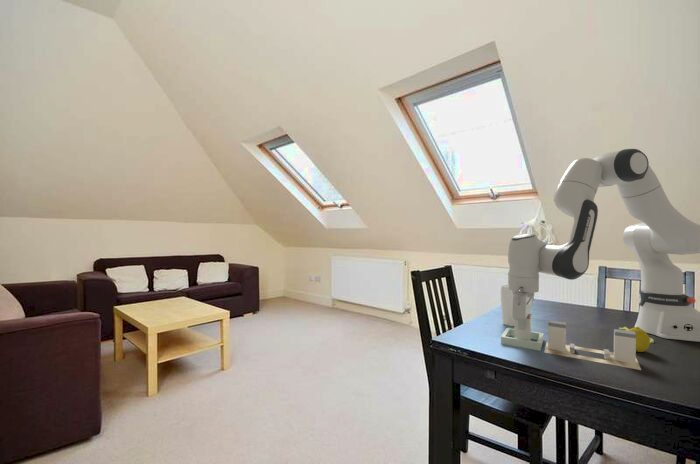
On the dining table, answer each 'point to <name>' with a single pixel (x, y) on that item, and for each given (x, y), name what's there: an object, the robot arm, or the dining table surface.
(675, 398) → the dining table surface
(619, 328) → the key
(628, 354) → the fuse
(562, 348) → the block
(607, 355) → the clip jaws
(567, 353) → the holder board
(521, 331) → the marked fuse
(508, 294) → the drinking glass
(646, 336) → the lemon
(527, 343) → the tray
